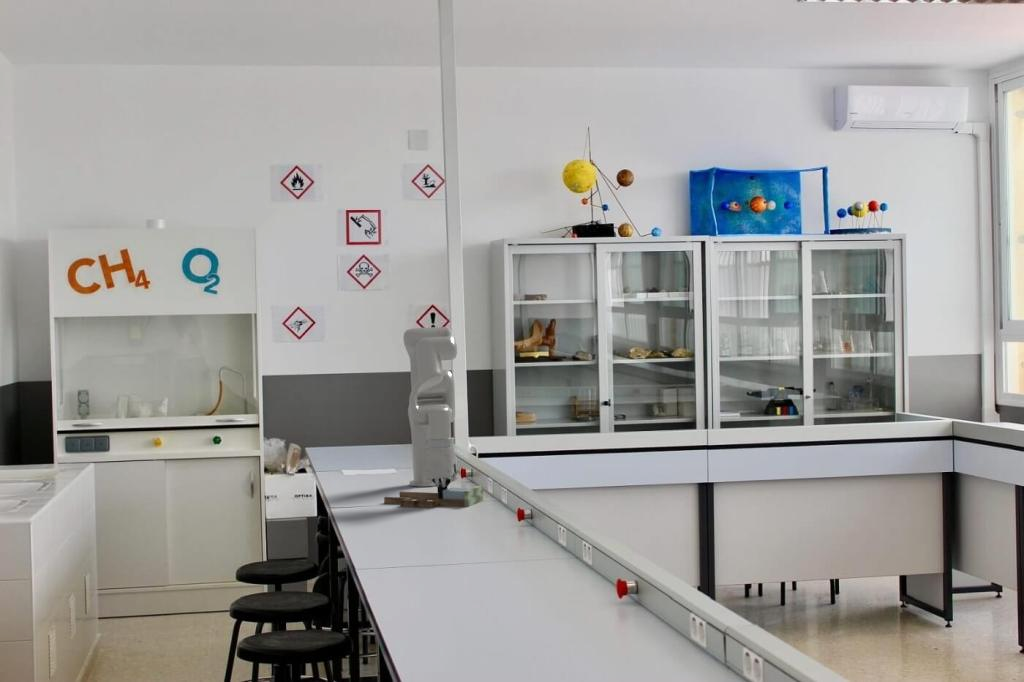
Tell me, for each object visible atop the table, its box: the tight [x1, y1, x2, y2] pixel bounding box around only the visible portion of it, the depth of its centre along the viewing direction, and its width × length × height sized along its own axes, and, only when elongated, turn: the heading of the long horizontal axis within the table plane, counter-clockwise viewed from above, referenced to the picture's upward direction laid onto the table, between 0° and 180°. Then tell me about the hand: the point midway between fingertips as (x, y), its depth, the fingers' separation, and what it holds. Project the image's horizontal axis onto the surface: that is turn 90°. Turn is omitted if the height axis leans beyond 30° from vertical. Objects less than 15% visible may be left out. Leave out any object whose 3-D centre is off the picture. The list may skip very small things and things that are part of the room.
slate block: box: [443, 487, 471, 500], centre depth 367 cm, size 6×8×5 cm
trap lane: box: [383, 485, 485, 509], centre depth 370 cm, size 16×32×5 cm, turn 66°
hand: (442, 498), depth 371 cm, fingers closed
